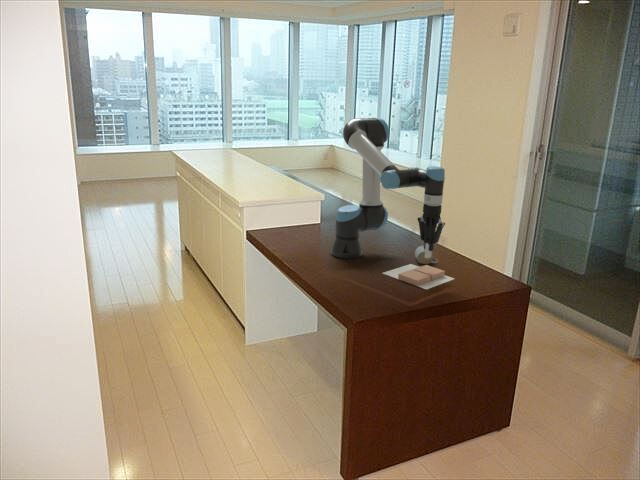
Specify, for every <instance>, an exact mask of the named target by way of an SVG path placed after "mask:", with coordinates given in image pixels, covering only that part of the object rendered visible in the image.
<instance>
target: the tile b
mask: <svg viewBox="0 0 640 480" xmlns="http://www.w3.org/2000/svg"><path fill="white" fill-rule="evenodd" d="M413 270H415V271H418V272H421V273H424V274H427V275H430V276H431V279H430V280H434V279H437V278H440V277H442V276H444V275H445V272H446V270H442V269H440V268H438V267H434V266H430V265H429V264H425V265H424V264H423V265H422V266H421V265H420V266H419V267H418V268H415V269H413ZM445 276H446V275H445Z"/></svg>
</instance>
